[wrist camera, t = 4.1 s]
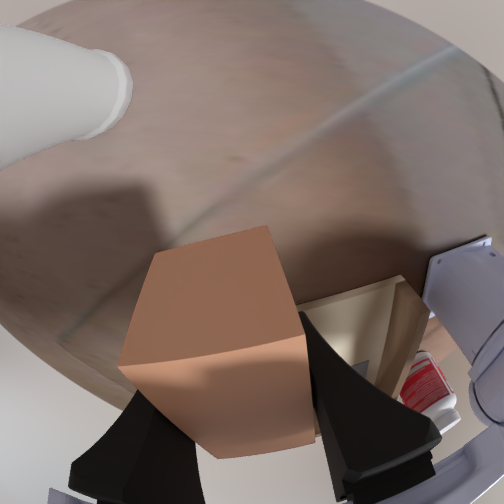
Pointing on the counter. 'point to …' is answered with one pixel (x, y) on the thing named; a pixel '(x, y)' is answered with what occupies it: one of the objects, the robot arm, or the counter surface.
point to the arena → (373, 330)
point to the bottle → (55, 92)
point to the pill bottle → (430, 392)
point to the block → (223, 346)
